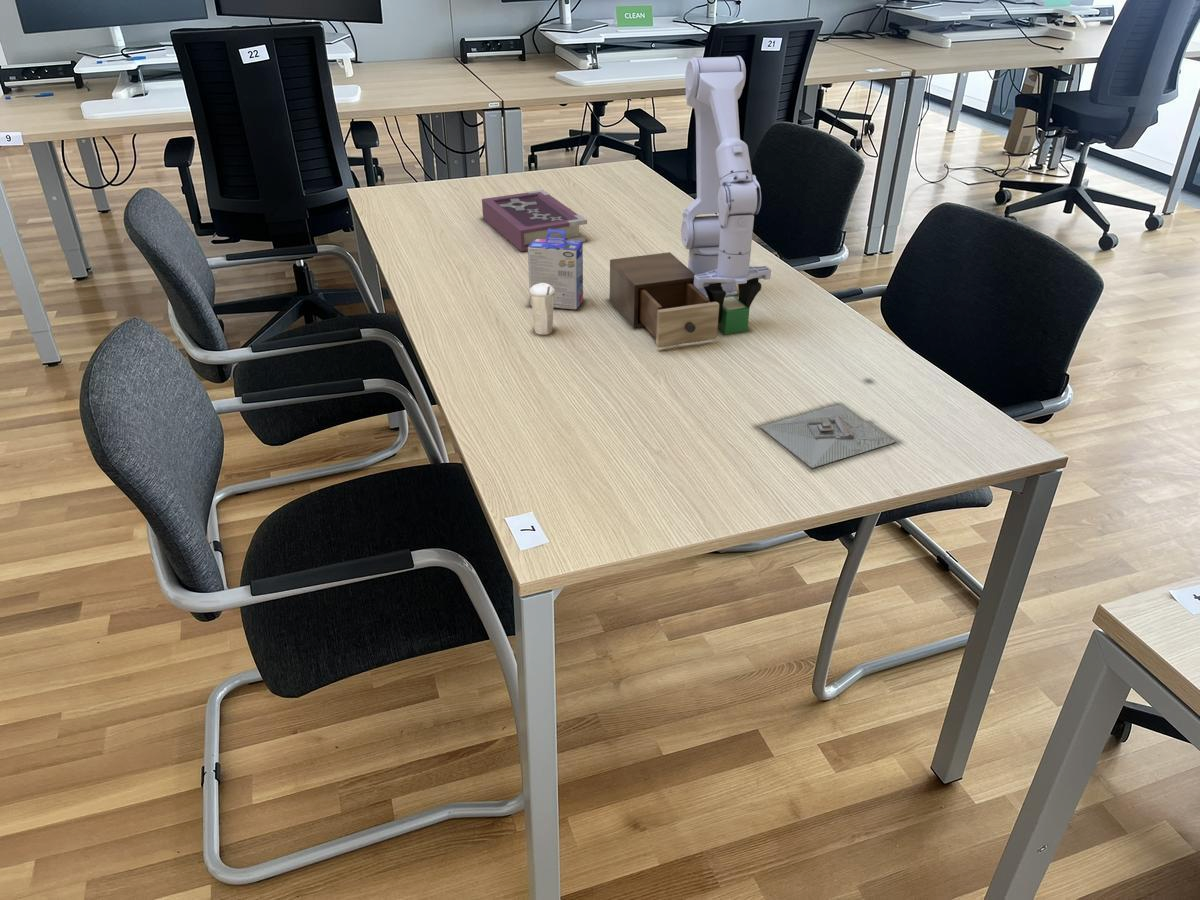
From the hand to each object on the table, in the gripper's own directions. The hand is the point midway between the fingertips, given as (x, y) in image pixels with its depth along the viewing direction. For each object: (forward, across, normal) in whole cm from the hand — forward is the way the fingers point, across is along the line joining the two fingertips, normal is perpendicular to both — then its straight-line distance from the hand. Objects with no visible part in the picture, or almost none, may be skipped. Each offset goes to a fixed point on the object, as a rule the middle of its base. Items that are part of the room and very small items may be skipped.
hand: (729, 318), depth 172 cm
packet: (+1, 0, 0) cm, 1 cm away
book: (+2, -20, +63) cm, 67 cm away
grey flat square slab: (+2, +2, -38) cm, 38 cm away
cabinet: (+1, -11, +11) cm, 16 cm away
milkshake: (+2, -34, +8) cm, 35 cm away
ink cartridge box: (+2, -28, +20) cm, 34 cm away
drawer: (0, -11, 0) cm, 11 cm away
